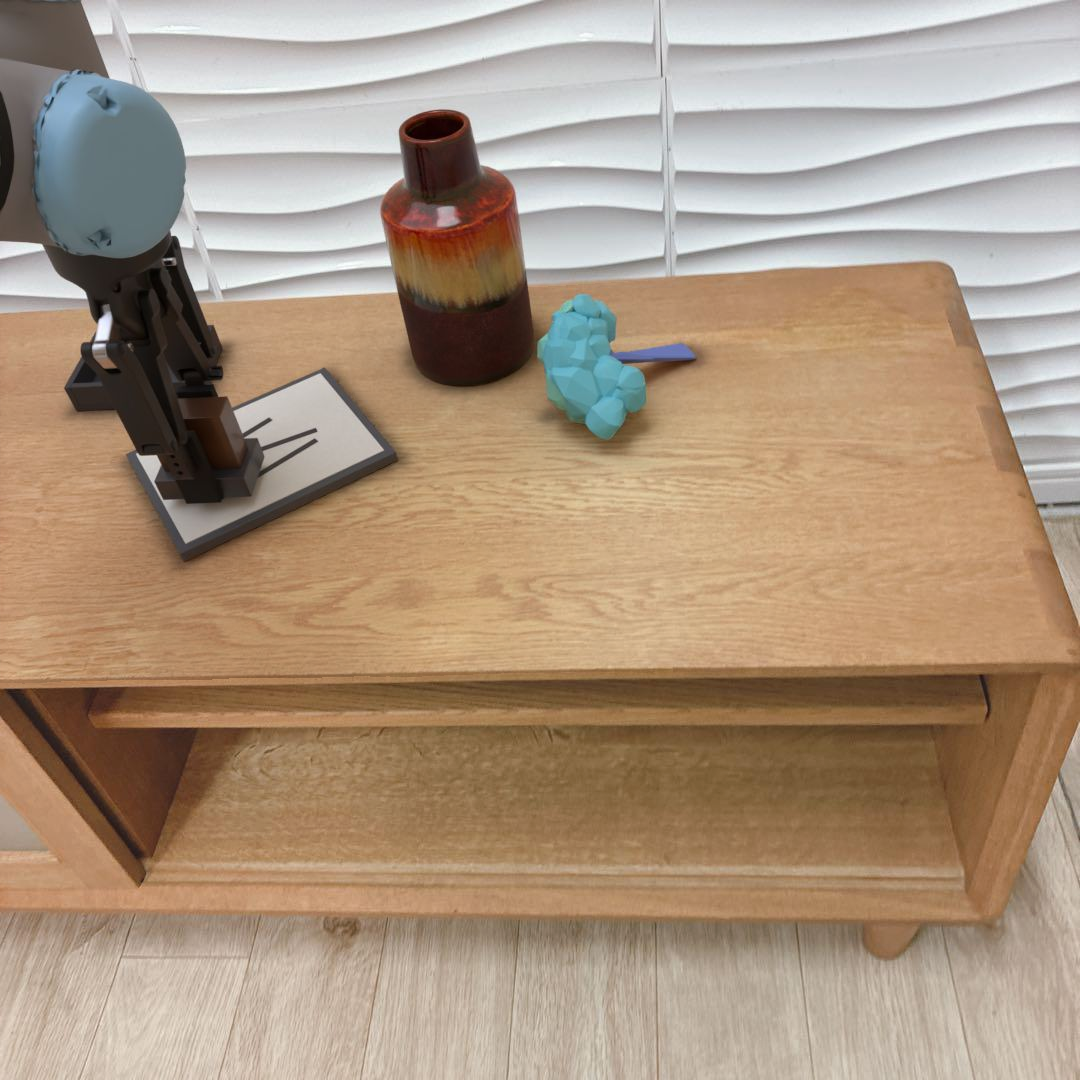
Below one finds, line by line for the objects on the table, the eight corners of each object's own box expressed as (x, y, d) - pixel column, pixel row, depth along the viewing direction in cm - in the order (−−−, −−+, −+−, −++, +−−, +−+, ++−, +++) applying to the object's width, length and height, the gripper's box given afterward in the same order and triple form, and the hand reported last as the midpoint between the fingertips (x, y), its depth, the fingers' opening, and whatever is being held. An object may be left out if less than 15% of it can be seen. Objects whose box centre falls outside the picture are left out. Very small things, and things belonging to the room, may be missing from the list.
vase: (530, 305, 98) (502, 84, 83) (538, 378, 91) (509, 149, 76) (413, 320, 98) (365, 102, 84) (412, 394, 91) (358, 168, 76)
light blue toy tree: (596, 367, 97) (483, 370, 86) (656, 294, 92) (544, 287, 81) (666, 458, 94) (558, 475, 82) (733, 387, 88) (627, 394, 77)
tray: (75, 411, 94) (63, 387, 92) (106, 354, 100) (95, 331, 98) (198, 405, 93) (188, 381, 91) (222, 348, 98) (213, 324, 97)
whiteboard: (183, 562, 80) (179, 552, 79) (129, 461, 89) (124, 452, 88) (398, 460, 85) (395, 450, 84) (327, 375, 94) (324, 365, 93)
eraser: (163, 500, 82) (128, 430, 77) (179, 460, 85) (147, 390, 80) (251, 497, 81) (222, 426, 76) (265, 456, 84) (237, 386, 79)
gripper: (102, 276, 60) (232, 558, 77) (188, 128, 72) (285, 400, 89) (-25, 284, 60) (132, 562, 77) (82, 136, 72) (197, 405, 89)
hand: (213, 475), depth 83 cm, fingers closed on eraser, 4 cm apart
